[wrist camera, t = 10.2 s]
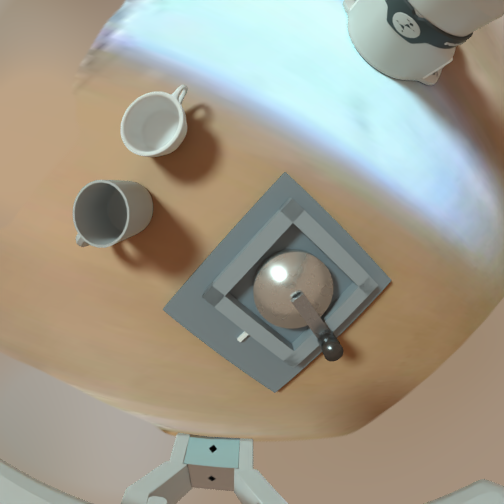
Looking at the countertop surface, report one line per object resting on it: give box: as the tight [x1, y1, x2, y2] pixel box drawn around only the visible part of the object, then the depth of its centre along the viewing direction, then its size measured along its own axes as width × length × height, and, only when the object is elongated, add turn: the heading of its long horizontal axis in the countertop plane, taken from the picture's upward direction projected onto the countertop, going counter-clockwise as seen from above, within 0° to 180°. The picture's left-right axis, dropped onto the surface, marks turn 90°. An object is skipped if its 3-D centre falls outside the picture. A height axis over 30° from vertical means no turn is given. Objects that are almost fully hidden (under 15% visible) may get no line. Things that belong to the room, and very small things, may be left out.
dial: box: [253, 249, 343, 361], centre depth 35 cm, size 14×10×6 cm
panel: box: [163, 172, 391, 393], centre depth 38 cm, size 24×21×3 cm
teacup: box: [121, 85, 188, 157], centre depth 32 cm, size 10×8×5 cm
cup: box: [73, 180, 153, 247], centre depth 33 cm, size 7×10×9 cm
